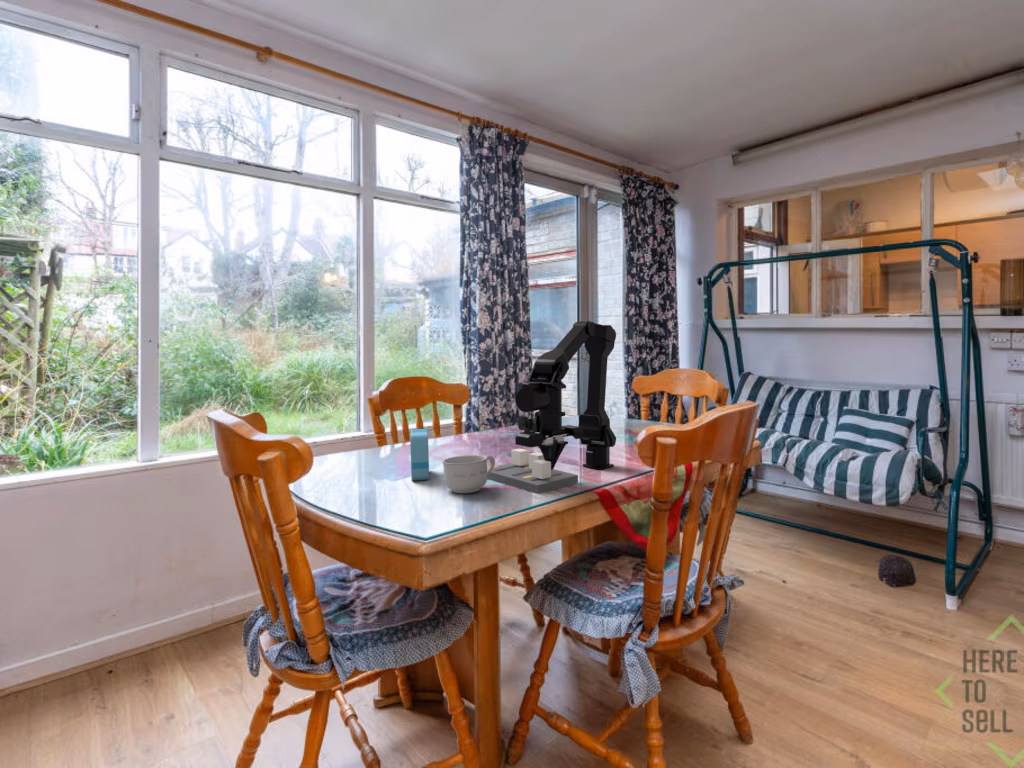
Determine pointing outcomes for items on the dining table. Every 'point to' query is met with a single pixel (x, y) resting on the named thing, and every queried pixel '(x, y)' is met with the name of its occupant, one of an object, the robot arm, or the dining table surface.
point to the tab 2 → (541, 469)
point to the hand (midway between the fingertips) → (550, 469)
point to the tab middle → (535, 458)
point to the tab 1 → (519, 457)
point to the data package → (419, 454)
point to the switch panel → (530, 478)
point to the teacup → (467, 472)
